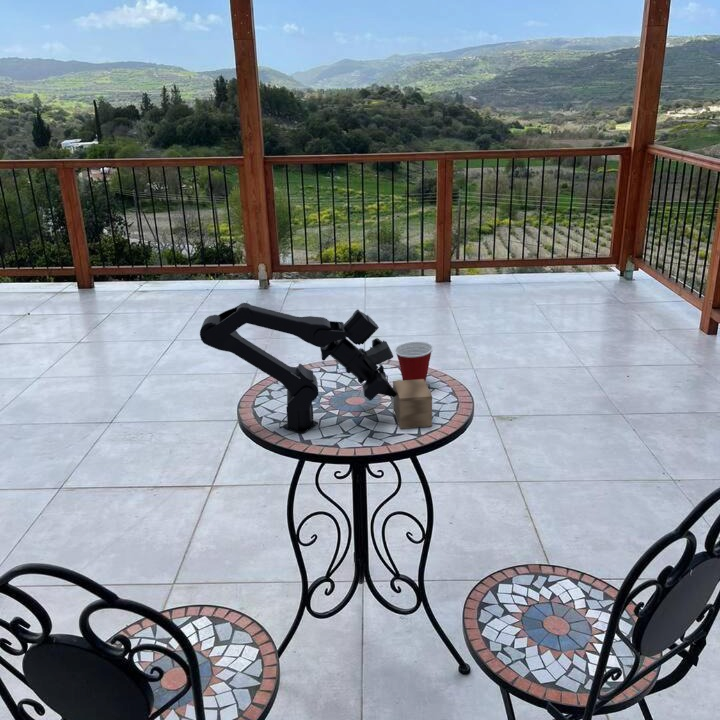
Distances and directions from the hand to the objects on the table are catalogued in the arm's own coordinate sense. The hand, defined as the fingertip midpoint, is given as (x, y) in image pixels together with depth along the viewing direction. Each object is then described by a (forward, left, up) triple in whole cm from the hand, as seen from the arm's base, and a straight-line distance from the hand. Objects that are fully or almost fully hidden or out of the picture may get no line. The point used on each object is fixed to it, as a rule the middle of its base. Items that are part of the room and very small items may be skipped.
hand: (395, 395), depth 170 cm
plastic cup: (+20, +6, -7) cm, 23 cm away
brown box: (+3, -3, -7) cm, 8 cm away
